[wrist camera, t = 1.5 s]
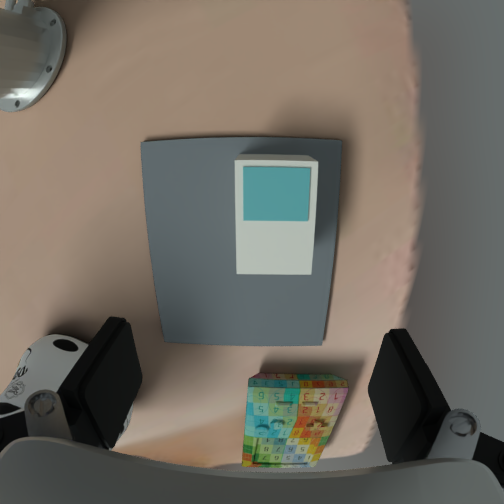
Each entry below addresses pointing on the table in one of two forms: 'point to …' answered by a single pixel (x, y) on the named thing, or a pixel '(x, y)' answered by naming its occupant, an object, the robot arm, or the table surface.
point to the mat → (231, 245)
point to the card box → (275, 213)
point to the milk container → (44, 372)
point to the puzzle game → (290, 418)
